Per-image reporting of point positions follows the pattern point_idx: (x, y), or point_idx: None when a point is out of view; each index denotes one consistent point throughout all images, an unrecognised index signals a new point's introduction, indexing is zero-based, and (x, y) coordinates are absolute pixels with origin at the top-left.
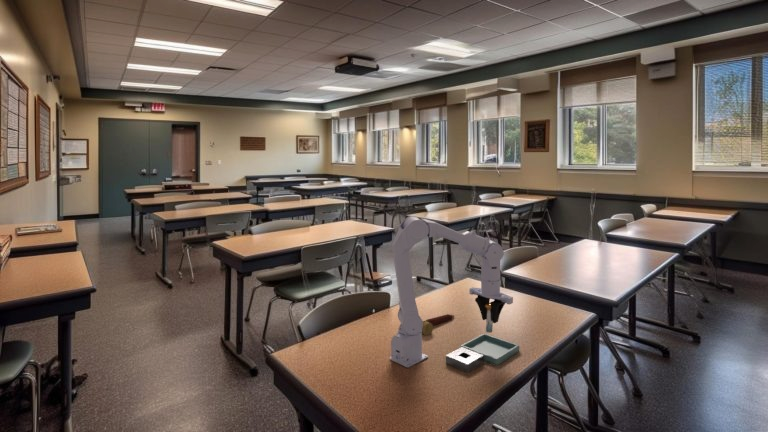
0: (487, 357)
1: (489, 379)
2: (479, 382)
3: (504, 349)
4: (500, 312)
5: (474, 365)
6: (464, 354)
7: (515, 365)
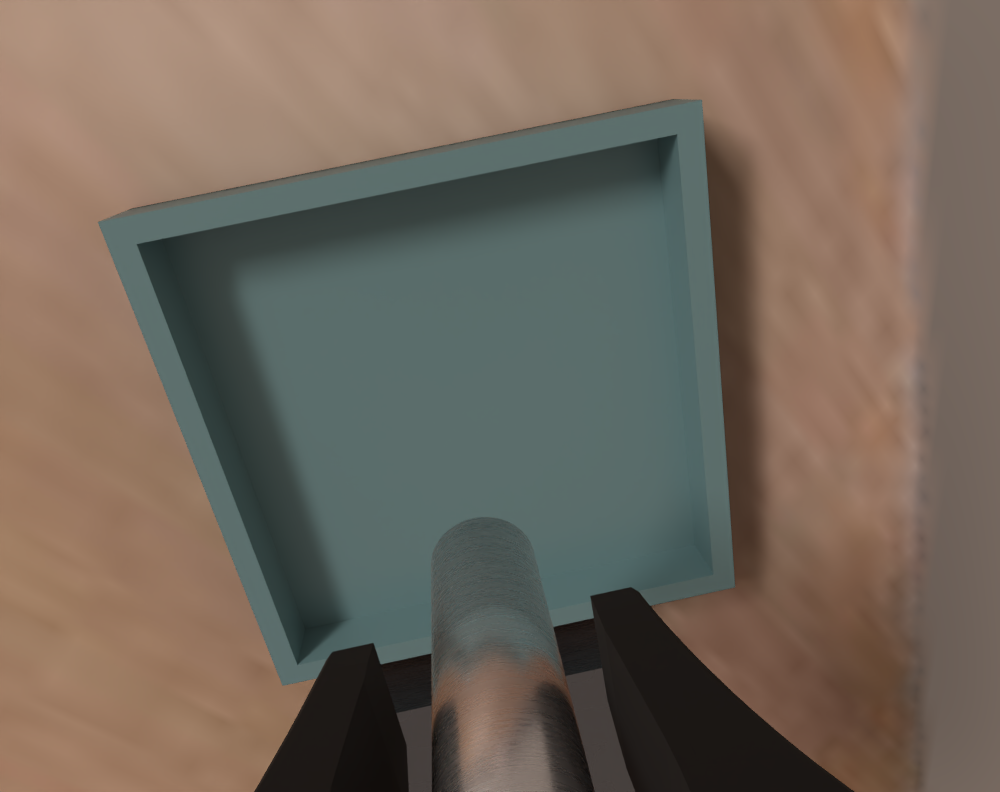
0: None
1: (802, 716)
2: None
3: (555, 257)
4: (767, 725)
5: None
6: None
7: (827, 404)
